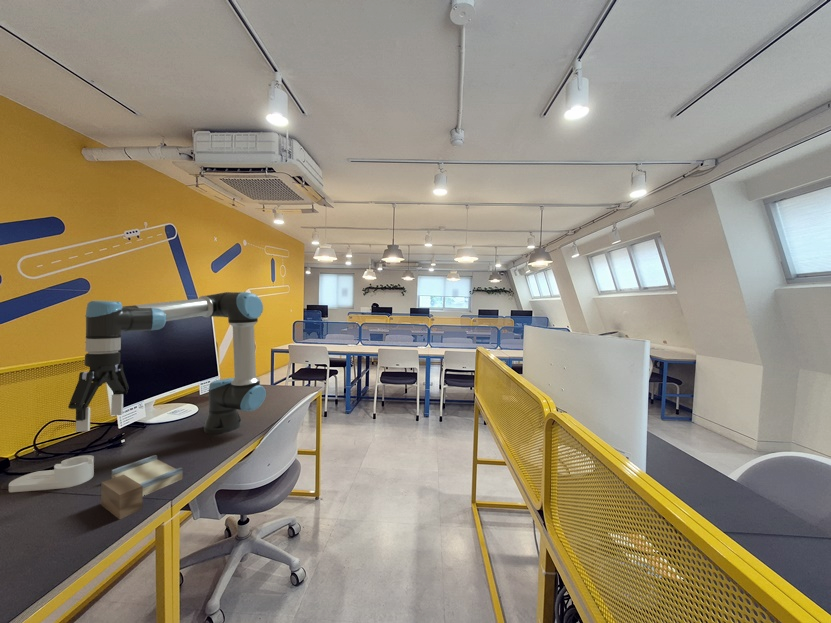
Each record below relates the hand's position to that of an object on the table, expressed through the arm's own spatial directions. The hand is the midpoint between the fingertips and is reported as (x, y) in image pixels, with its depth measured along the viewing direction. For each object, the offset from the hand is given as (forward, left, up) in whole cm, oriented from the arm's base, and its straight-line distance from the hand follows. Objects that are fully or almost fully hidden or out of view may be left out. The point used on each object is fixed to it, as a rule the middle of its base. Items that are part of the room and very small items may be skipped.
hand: (101, 422), depth 93 cm
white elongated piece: (+4, -24, -24) cm, 34 cm away
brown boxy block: (-1, +11, -23) cm, 26 cm away
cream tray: (-11, +1, -23) cm, 26 cm away
